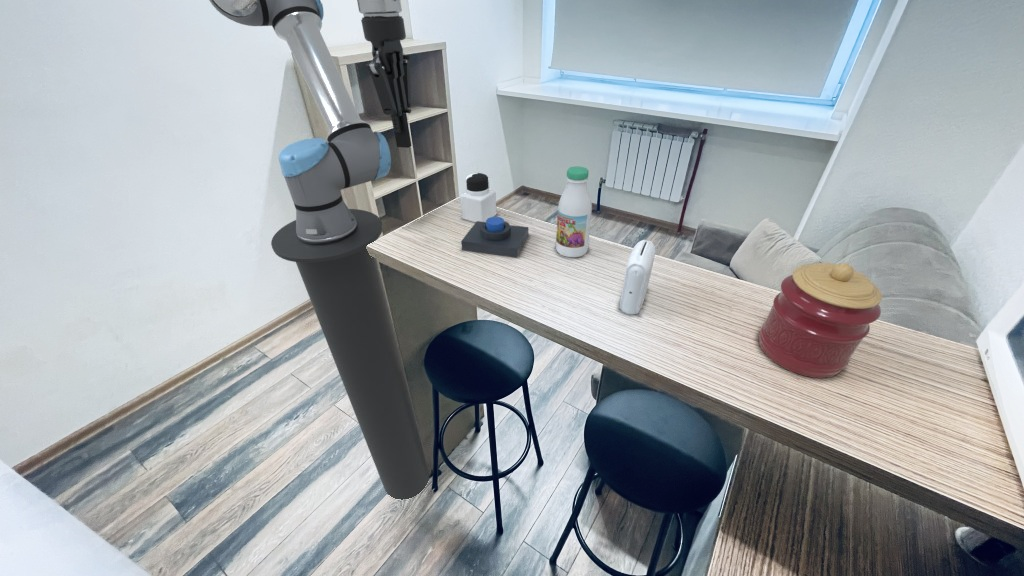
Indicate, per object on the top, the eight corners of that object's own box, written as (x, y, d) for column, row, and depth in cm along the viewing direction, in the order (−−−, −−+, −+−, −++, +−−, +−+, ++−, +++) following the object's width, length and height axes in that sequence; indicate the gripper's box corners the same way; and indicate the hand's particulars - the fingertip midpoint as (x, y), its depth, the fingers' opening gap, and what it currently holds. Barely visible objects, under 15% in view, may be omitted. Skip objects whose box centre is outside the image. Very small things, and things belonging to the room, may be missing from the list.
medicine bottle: (497, 214, 115) (495, 173, 108) (482, 224, 110) (480, 182, 103) (476, 209, 118) (473, 169, 111) (461, 219, 113) (457, 177, 106)
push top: (484, 231, 99) (483, 223, 97) (489, 223, 102) (489, 215, 101) (501, 233, 98) (501, 225, 96) (506, 225, 101) (506, 217, 100)
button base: (462, 250, 100) (460, 233, 97) (477, 229, 108) (476, 214, 106) (517, 257, 96) (516, 240, 94) (528, 235, 105) (528, 220, 102)
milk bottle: (565, 239, 103) (570, 161, 91) (593, 247, 99) (602, 167, 88) (549, 252, 98) (553, 171, 86) (578, 261, 94) (586, 178, 83)
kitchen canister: (838, 338, 72) (890, 253, 62) (850, 390, 63) (914, 300, 53) (756, 318, 77) (792, 236, 67) (756, 364, 68) (798, 277, 57)
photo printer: (639, 317, 78) (650, 263, 71) (616, 312, 79) (626, 258, 72) (648, 288, 85) (660, 236, 78) (628, 284, 87) (637, 232, 80)
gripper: (381, 16, 68) (405, 157, 82) (416, 13, 78) (433, 138, 92) (342, 17, 70) (372, 154, 84) (382, 13, 80) (403, 136, 94)
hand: (404, 146), depth 88 cm, fingers closed
